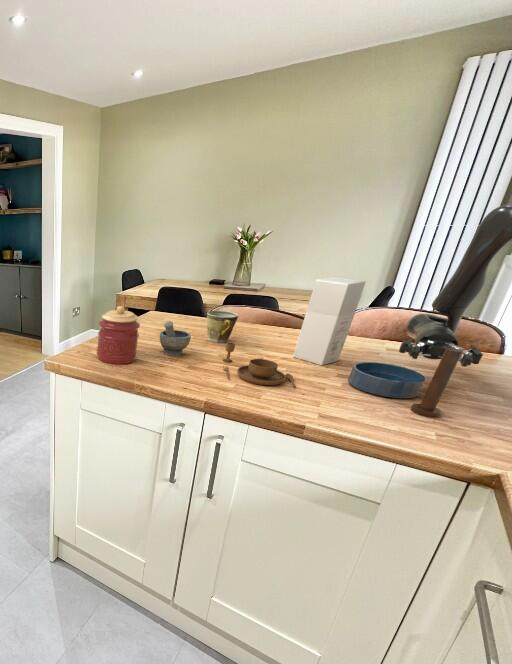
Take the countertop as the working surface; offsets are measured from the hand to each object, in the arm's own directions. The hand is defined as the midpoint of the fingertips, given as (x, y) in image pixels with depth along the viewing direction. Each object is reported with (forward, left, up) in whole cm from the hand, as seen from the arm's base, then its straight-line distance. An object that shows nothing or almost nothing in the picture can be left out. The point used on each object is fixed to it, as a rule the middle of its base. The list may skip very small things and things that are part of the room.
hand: (440, 358), depth 97 cm
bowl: (+8, -2, -11) cm, 14 cm away
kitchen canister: (+75, +20, -11) cm, 78 cm away
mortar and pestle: (+62, +4, -11) cm, 63 cm away
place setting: (+36, +6, -11) cm, 38 cm away
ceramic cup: (+53, -18, -11) cm, 57 cm away
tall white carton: (+24, -18, -11) cm, 32 cm away
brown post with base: (0, +10, -11) cm, 14 cm away
